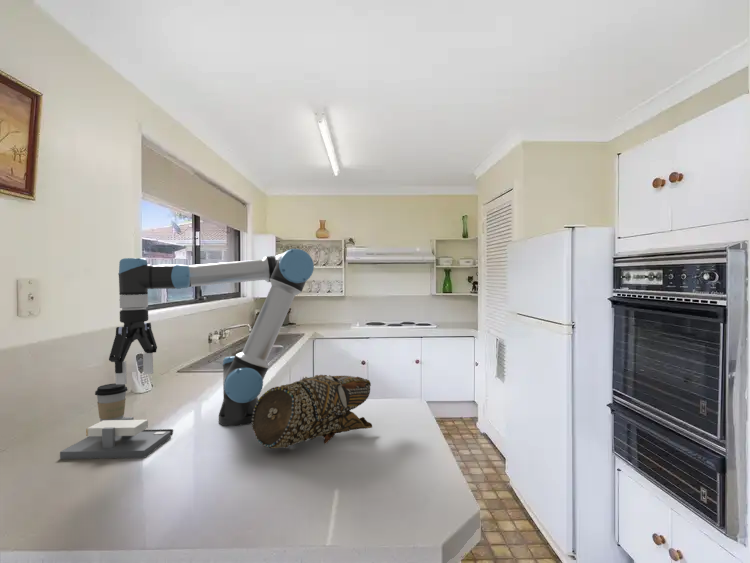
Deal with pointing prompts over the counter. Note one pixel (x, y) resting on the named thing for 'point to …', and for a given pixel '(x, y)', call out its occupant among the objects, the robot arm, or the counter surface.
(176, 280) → the robot arm
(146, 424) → the plate
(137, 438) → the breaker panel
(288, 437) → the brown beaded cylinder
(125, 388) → the coffee cup
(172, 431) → the cords
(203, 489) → the counter surface
